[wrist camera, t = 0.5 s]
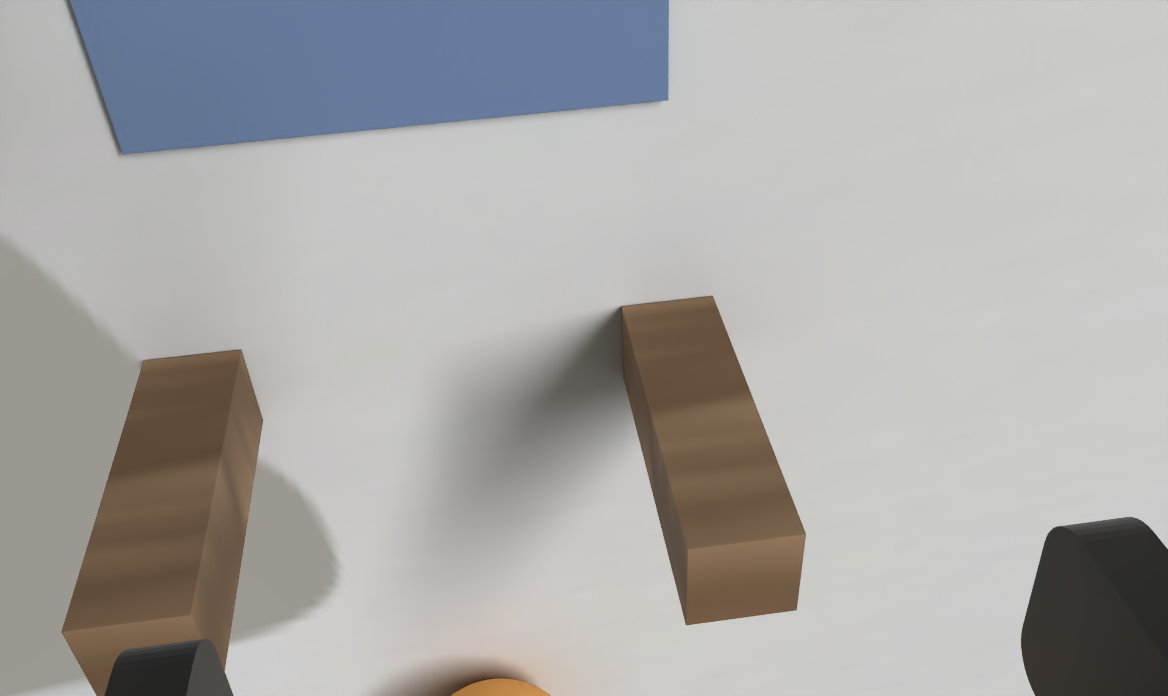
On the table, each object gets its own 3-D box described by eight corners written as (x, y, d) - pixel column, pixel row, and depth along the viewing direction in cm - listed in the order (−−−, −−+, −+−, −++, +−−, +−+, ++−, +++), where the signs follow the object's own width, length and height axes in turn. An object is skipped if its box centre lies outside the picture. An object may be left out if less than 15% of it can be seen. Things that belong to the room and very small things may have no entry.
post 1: (143, 360, 29) (61, 632, 22) (241, 349, 29) (190, 615, 22) (170, 431, 31) (101, 705, 24) (262, 420, 31) (221, 688, 24)
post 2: (621, 306, 30) (688, 549, 23) (712, 296, 30) (806, 534, 23) (623, 377, 32) (686, 624, 25) (710, 367, 32) (796, 610, 25)
